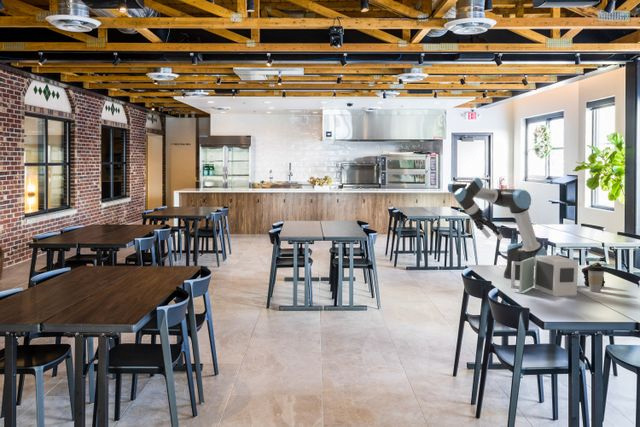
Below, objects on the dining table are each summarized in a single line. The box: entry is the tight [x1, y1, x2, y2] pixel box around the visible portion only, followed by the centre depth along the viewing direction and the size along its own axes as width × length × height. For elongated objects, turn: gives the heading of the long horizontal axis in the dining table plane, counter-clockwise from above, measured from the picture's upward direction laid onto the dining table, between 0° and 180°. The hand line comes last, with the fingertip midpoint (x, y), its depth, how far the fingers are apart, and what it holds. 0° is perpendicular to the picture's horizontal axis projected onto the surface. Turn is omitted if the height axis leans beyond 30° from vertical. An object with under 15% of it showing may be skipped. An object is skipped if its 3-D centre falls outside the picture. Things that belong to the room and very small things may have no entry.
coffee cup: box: [587, 265, 605, 294], centre depth 333 cm, size 9×9×15 cm
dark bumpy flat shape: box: [581, 262, 606, 288], centre depth 348 cm, size 4×13×15 cm, turn 86°
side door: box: [510, 257, 535, 293], centre depth 334 cm, size 23×7×18 cm, turn 141°
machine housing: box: [533, 254, 579, 297], centre depth 331 cm, size 23×14×20 cm, turn 9°
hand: (495, 237), depth 329 cm, fingers open, 13 cm apart
